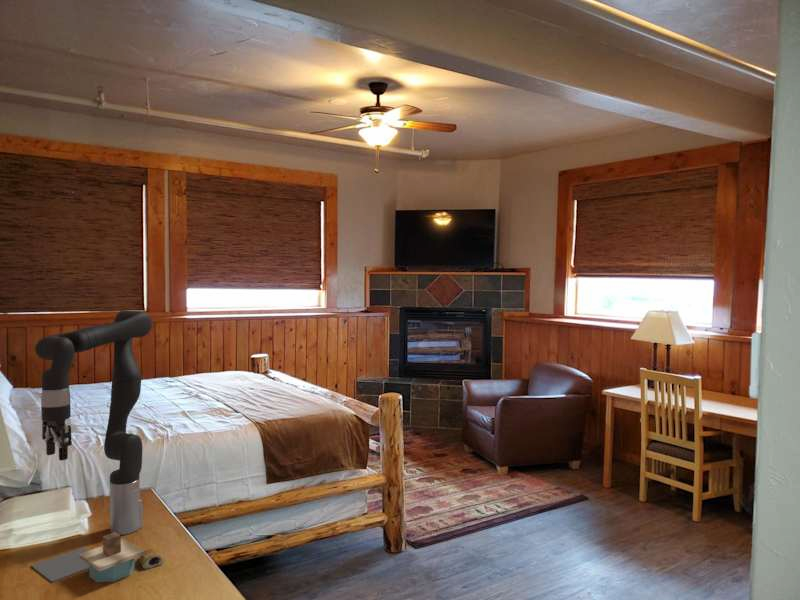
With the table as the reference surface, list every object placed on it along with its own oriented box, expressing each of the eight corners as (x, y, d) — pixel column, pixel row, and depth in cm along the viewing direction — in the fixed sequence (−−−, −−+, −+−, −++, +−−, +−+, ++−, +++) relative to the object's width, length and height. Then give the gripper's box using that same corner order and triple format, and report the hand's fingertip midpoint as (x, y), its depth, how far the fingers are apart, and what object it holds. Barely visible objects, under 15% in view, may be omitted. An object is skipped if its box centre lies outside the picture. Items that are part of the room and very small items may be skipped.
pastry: (135, 559, 181) (135, 547, 181) (157, 553, 186) (157, 541, 185) (143, 571, 174) (143, 558, 174) (166, 564, 178) (166, 552, 178)
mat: (83, 548, 188) (83, 547, 188) (105, 562, 179) (105, 561, 179) (31, 566, 176) (31, 565, 176) (52, 582, 167) (52, 581, 167)
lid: (123, 541, 182) (122, 522, 181) (144, 554, 174) (144, 534, 173) (78, 557, 171) (78, 537, 171) (99, 571, 163) (99, 550, 163)
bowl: (121, 559, 181) (121, 543, 180) (140, 570, 174) (140, 554, 174) (84, 573, 172) (84, 557, 172) (102, 586, 165) (102, 568, 165)
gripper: (80, 404, 174) (81, 458, 175) (58, 398, 183) (59, 450, 183) (52, 409, 168) (53, 465, 169) (32, 402, 177) (33, 455, 177)
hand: (56, 457), depth 176 cm, fingers open, 8 cm apart
